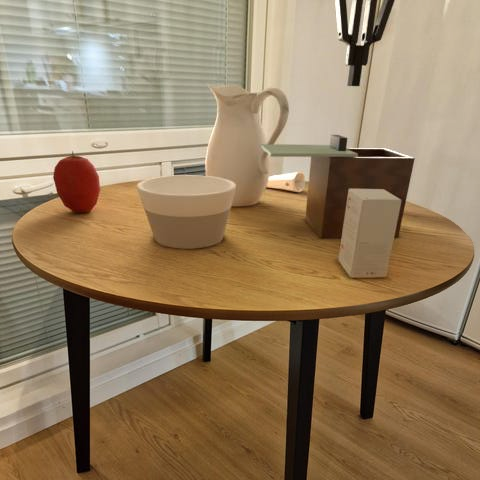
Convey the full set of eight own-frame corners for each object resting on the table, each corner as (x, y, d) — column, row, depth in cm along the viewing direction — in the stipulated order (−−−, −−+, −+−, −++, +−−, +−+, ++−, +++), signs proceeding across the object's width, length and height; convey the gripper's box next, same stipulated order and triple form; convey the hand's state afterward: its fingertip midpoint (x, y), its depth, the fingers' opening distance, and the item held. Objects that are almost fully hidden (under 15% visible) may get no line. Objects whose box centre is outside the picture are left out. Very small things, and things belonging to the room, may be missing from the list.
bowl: (156, 221, 97) (153, 173, 92) (240, 226, 95) (241, 176, 90) (128, 250, 80) (121, 192, 75) (228, 256, 79) (229, 197, 73)
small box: (386, 278, 71) (403, 199, 65) (349, 278, 71) (362, 199, 64) (371, 260, 78) (384, 188, 72) (337, 260, 78) (347, 187, 71)
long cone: (256, 186, 141) (305, 189, 129) (243, 191, 137) (294, 194, 125) (254, 168, 138) (304, 169, 126) (241, 173, 134) (292, 174, 122)
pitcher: (193, 200, 115) (189, 83, 102) (239, 192, 125) (241, 84, 112) (253, 219, 100) (258, 85, 86) (300, 208, 110) (311, 86, 96)
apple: (58, 208, 106) (47, 148, 99) (100, 205, 109) (92, 147, 102) (61, 219, 97) (49, 155, 91) (106, 215, 101) (97, 153, 94)
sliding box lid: (336, 147, 93) (338, 133, 92) (357, 157, 82) (360, 140, 80) (260, 147, 92) (261, 132, 90) (270, 156, 80) (271, 139, 79)
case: (373, 218, 103) (386, 148, 95) (398, 237, 91) (414, 158, 83) (305, 219, 101) (311, 147, 93) (321, 238, 89) (330, 157, 81)
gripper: (402, -69, 74) (378, 86, 85) (329, -73, 72) (315, 85, 84) (423, -83, 67) (393, 87, 79) (343, -88, 66) (325, 85, 77)
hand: (353, 86), depth 81 cm, fingers closed
